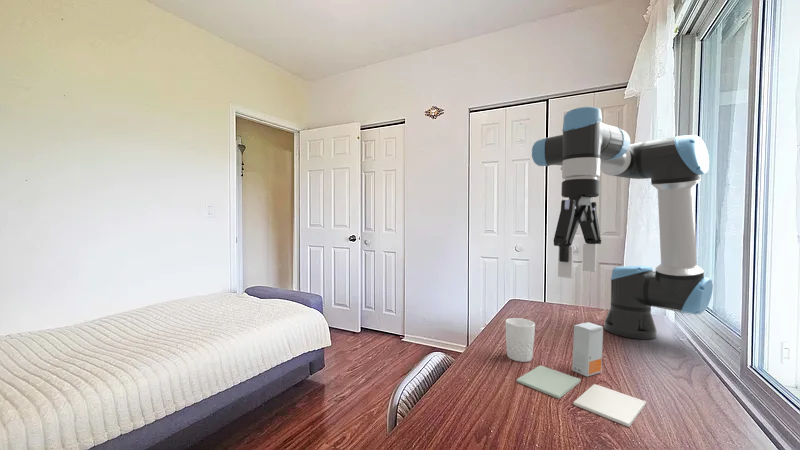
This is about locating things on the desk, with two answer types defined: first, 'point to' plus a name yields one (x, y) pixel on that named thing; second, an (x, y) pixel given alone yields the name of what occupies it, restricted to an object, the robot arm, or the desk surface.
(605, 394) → the taller pad
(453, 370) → the desk surface
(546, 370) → the shorter pad
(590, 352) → the skincare box
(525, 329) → the white cup
